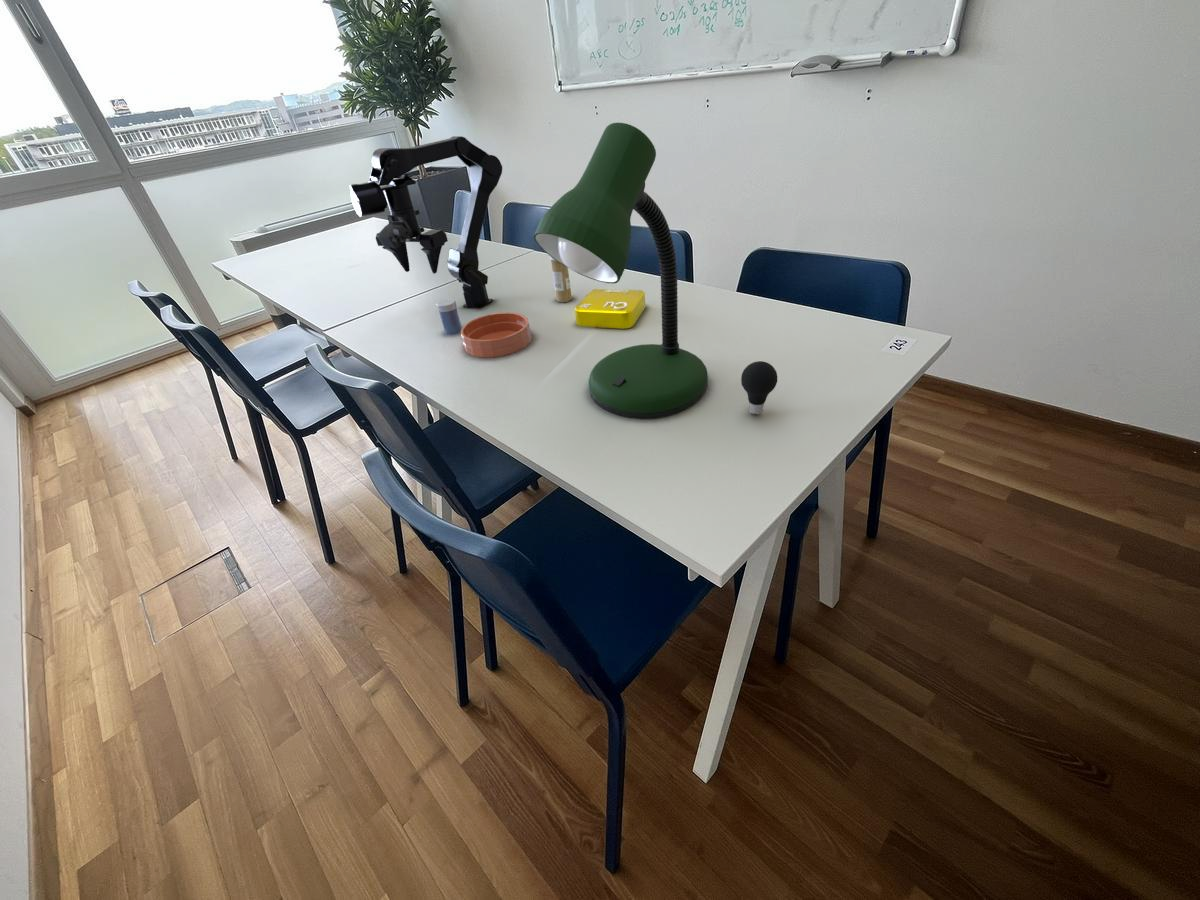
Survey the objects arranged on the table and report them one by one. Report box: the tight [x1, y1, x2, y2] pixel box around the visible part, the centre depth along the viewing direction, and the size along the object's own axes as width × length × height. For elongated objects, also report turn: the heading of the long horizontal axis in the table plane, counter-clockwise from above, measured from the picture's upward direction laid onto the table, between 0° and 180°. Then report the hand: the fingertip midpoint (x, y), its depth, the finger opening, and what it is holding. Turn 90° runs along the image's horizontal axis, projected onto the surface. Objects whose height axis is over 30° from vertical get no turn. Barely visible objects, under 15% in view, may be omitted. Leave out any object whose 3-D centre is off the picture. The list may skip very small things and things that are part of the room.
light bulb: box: [740, 360, 778, 416], centre depth 88 cm, size 6×6×10 cm
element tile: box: [574, 288, 646, 330], centre depth 130 cm, size 15×15×5 cm
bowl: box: [460, 312, 533, 359], centre depth 124 cm, size 16×16×4 cm
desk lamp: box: [533, 122, 709, 420], centre depth 86 cm, size 31×23×45 cm
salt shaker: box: [436, 298, 463, 336], centre depth 131 cm, size 5×5×8 cm
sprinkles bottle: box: [549, 255, 573, 303], centre depth 140 cm, size 5×5×13 cm
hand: (421, 272), depth 134 cm, fingers open, 9 cm apart
